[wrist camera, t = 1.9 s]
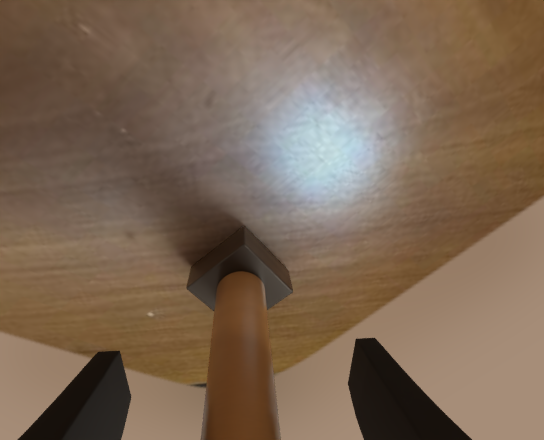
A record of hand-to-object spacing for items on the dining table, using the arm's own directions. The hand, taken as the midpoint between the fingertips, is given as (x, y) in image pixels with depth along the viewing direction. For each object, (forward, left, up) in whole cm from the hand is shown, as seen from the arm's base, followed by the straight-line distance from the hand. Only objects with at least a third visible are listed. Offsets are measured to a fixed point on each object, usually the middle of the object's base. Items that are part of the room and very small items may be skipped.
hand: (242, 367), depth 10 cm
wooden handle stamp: (0, 0, -5) cm, 5 cm away
